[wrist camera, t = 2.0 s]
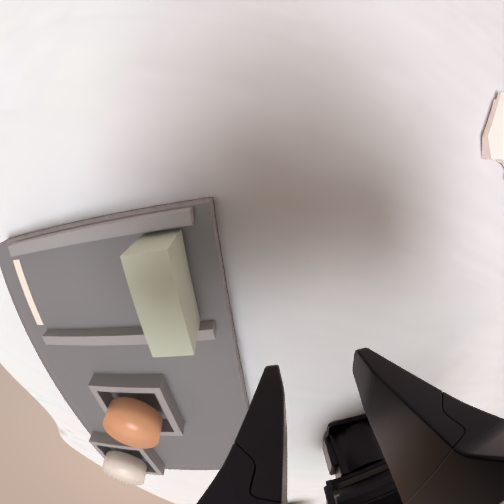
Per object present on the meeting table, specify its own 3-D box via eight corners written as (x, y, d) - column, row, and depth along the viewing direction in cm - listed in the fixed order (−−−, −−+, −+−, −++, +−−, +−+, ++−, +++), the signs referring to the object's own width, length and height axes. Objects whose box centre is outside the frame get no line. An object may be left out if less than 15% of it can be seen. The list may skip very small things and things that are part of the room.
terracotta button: (151, 397, 18) (146, 417, 16) (169, 431, 20) (166, 450, 18) (100, 395, 18) (92, 413, 16) (122, 429, 20) (117, 445, 18)
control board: (212, 197, 18) (207, 207, 14) (259, 453, 27) (261, 477, 24) (8, 238, 17) (-18, 252, 14) (118, 451, 27) (112, 472, 24)
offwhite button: (136, 453, 21) (133, 468, 19) (153, 472, 23) (150, 486, 21) (99, 448, 21) (94, 462, 19) (117, 468, 23) (114, 481, 21)
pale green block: (181, 228, 16) (167, 249, 13) (200, 319, 18) (194, 355, 15) (142, 234, 16) (120, 256, 12) (165, 322, 18) (152, 357, 14)
